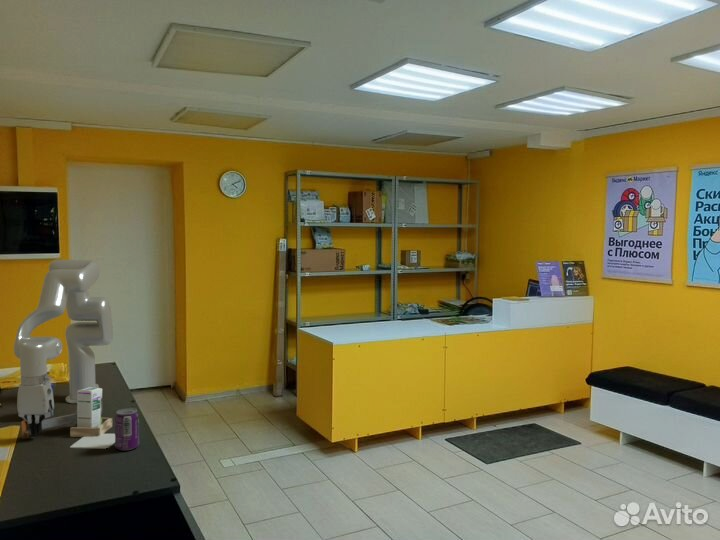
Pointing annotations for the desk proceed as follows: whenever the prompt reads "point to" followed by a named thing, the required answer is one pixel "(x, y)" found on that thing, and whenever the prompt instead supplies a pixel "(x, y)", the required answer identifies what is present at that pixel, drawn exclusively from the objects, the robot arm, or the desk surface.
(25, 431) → the lever
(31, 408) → the robot arm
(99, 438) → the mat
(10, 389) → the desk surface
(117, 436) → the beverage can
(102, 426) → the cradle
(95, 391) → the syrup box
